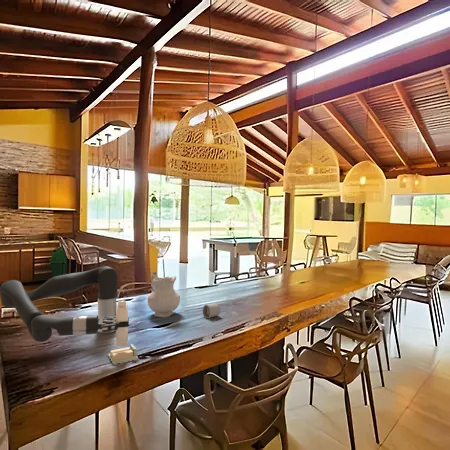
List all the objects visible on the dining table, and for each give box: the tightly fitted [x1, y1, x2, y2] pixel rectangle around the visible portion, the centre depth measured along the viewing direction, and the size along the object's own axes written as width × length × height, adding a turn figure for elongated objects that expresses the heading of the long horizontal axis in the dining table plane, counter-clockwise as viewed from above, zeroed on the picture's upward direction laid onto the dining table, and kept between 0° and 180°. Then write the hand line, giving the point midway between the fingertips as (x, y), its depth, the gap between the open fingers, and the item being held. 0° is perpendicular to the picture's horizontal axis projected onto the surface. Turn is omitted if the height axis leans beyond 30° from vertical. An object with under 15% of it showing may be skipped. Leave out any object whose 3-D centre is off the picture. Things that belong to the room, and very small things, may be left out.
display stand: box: [107, 343, 139, 365], centre depth 149 cm, size 10×10×4 cm
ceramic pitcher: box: [147, 271, 181, 319], centre depth 211 cm, size 22×20×25 cm
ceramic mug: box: [202, 303, 221, 319], centre depth 208 cm, size 11×8×8 cm
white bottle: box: [115, 299, 129, 347], centre depth 148 cm, size 5×5×18 cm
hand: (128, 321), depth 149 cm, fingers closed on white bottle, 4 cm apart
